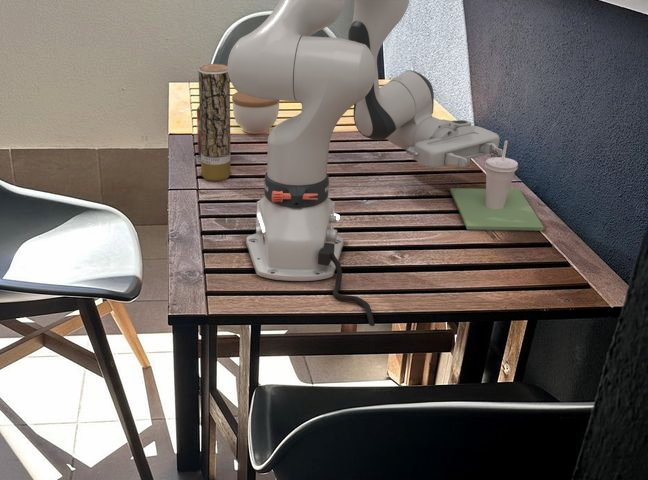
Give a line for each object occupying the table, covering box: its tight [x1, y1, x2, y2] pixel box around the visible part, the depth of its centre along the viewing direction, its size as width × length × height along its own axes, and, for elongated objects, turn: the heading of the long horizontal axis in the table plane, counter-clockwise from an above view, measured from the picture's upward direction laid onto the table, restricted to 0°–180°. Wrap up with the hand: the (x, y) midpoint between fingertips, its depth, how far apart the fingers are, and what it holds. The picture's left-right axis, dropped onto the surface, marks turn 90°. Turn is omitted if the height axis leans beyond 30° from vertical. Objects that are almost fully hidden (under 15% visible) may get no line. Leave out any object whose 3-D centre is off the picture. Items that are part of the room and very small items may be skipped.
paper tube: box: [198, 63, 232, 182], centre depth 182 cm, size 7×7×25 cm
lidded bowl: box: [231, 91, 281, 135], centre depth 215 cm, size 13×13×11 cm
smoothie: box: [484, 140, 519, 210], centre depth 166 cm, size 6×6×14 cm
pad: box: [449, 187, 545, 232], centre depth 170 cm, size 20×15×1 cm
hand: (484, 158), depth 169 cm, fingers open, 8 cm apart
